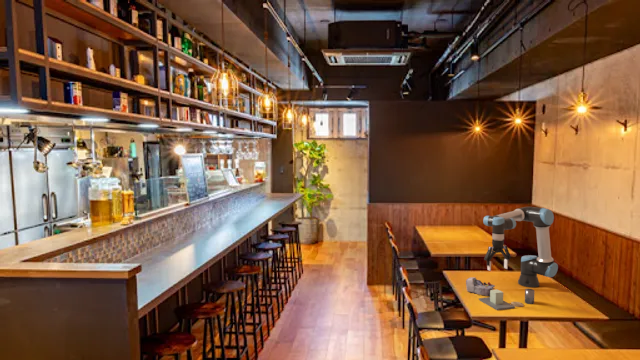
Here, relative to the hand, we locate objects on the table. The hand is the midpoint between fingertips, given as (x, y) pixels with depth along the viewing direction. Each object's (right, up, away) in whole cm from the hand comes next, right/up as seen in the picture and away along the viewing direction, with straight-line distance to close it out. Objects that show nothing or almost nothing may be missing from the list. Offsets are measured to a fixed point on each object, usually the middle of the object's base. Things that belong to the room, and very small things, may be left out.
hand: (497, 269), depth 290 cm
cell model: (-3, -23, +24) cm, 34 cm away
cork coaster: (+14, -25, -1) cm, 28 cm away
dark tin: (+24, -24, +3) cm, 34 cm away
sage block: (0, -23, +1) cm, 23 cm away
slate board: (0, -25, +1) cm, 25 cm away
